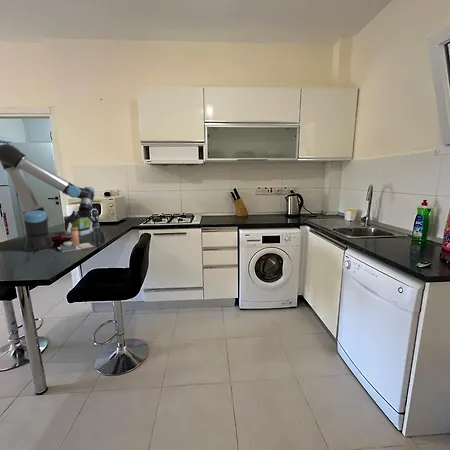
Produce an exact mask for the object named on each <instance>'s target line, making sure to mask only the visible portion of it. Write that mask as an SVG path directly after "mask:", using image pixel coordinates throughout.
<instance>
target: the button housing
mask: <svg viewBox="0 0 450 450" xmlns="http://www.w3.org/2000/svg"><path fill="white" fill-rule="evenodd" d="M59 247H60V249H61V250H62V251H63V252H62V251H61V250H60V249H59V250H60V251H61V252H62V253H64V251H65V252H69V251H70V250H71V251H75V250H76V245H75V244H73V243H72V246H66V247H64V244H60V245H59ZM71 251H70V252H71ZM76 251H77V250H76Z"/></svg>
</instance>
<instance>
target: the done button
mask: <svg viewBox="0 0 450 450" xmlns="http://www.w3.org/2000/svg"><path fill="white" fill-rule="evenodd" d="M62 245H64V247H66V246H72V241H64V242H63V243H62Z"/></svg>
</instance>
